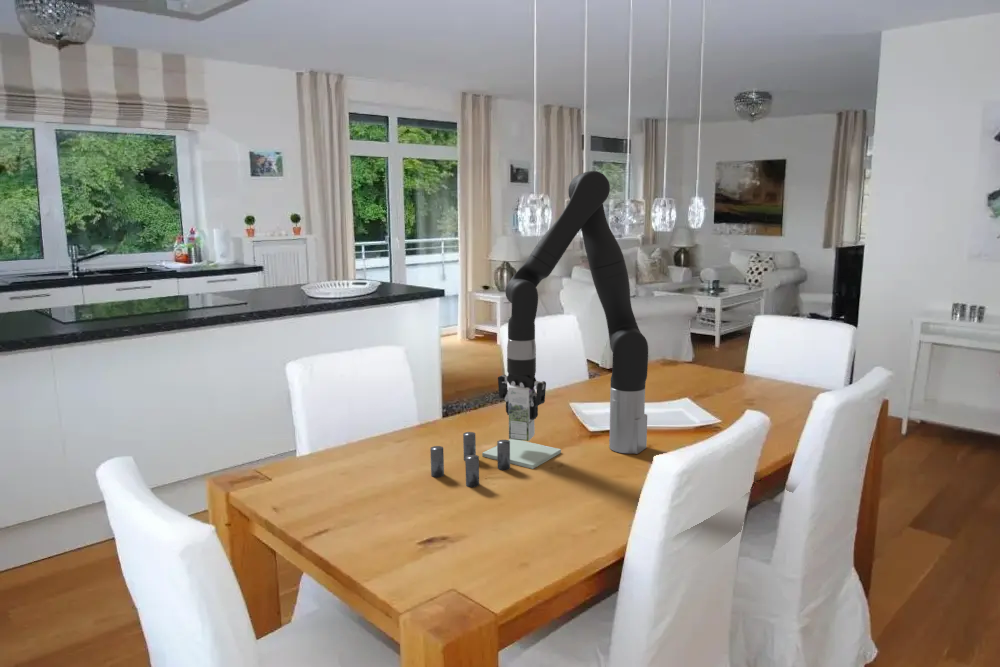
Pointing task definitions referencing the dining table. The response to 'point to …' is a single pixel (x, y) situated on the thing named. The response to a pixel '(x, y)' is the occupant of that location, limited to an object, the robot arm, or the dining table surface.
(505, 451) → the cylinder
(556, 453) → the sage board
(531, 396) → the robot arm
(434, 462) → the cylinder
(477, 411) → the dining table surface
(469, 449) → the cylinder
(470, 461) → the cylinder
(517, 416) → the syrup box
